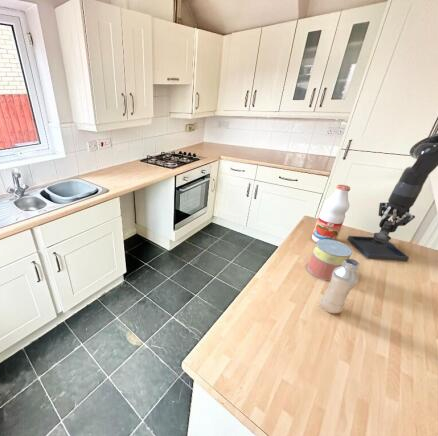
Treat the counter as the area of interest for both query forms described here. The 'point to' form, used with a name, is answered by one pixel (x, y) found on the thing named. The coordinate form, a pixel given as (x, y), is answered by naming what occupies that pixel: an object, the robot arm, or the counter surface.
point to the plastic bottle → (340, 286)
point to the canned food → (328, 258)
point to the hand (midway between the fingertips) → (386, 229)
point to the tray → (377, 249)
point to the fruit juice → (332, 215)
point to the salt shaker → (382, 235)
